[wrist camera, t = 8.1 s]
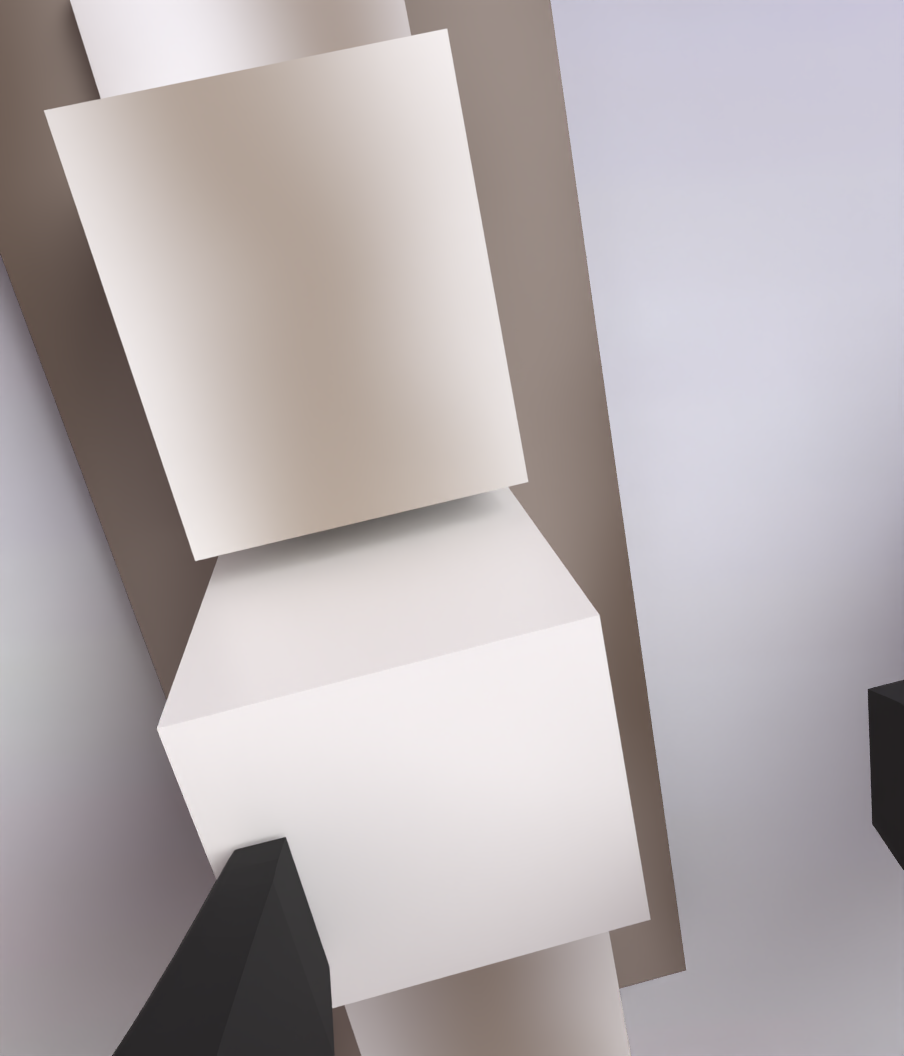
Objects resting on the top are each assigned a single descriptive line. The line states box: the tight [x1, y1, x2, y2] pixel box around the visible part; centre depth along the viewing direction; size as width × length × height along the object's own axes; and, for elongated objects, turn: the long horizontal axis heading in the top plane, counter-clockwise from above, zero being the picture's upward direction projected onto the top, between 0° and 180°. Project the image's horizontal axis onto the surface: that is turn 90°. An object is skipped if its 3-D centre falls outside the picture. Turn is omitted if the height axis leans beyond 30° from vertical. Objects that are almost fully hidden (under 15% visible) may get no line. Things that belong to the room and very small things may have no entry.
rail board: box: [0, 0, 686, 1056], centre depth 16 cm, size 10×24×6 cm, turn 12°
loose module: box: [157, 487, 651, 1008], centre depth 13 cm, size 5×4×7 cm
